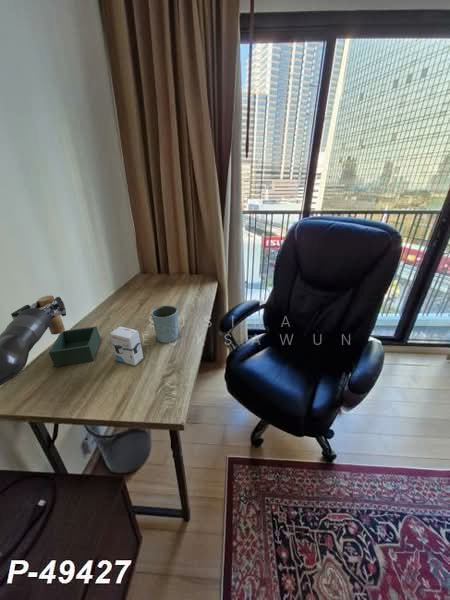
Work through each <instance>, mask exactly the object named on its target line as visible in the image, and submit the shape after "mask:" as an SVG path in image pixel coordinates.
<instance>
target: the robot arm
mask: <svg viewBox="0 0 450 600" xmlns="http://www.w3.org/2000/svg"><path fill="white" fill-rule="evenodd" d="M54 299H55V300H54V301H53V302H52V303H51V304H47V305H45V306H44V307H41V306H40V304H39V301H38V300H37V301H36V302H34V303H32V304H31V305H30V304H26V305H24V306H22V307H20V308H18V309H17V310H14V311H12V312H11V313H10V315H11V318H12V321H11V322H9V324H7V326H6V327H5V329H4V330H2V331H3V332H1V333H0V387H2V386H3V385H5V384H6V383H8V382H9V381H11V380H13V379H14V378H16V377H18V376H19V374H20V373H21V372H22V371H23V370H24V369H25V367H26V365H27V363H28V359H29V355H30V352H31V350H32V349H33V347H34V346H35V345H36V344H37V343H38V342H39V341H40V340H41V339H42V337H43V336H44V334H45V332H46V331H47V330H48V329H49V325H50V322H51V319H53V318H54V317H55V316H56V315H60V316H61V317H66V316H67V310H66V306H65V302H64V300H62V297H60V296H56V297H54ZM54 307H55V308H54Z"/></svg>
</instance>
